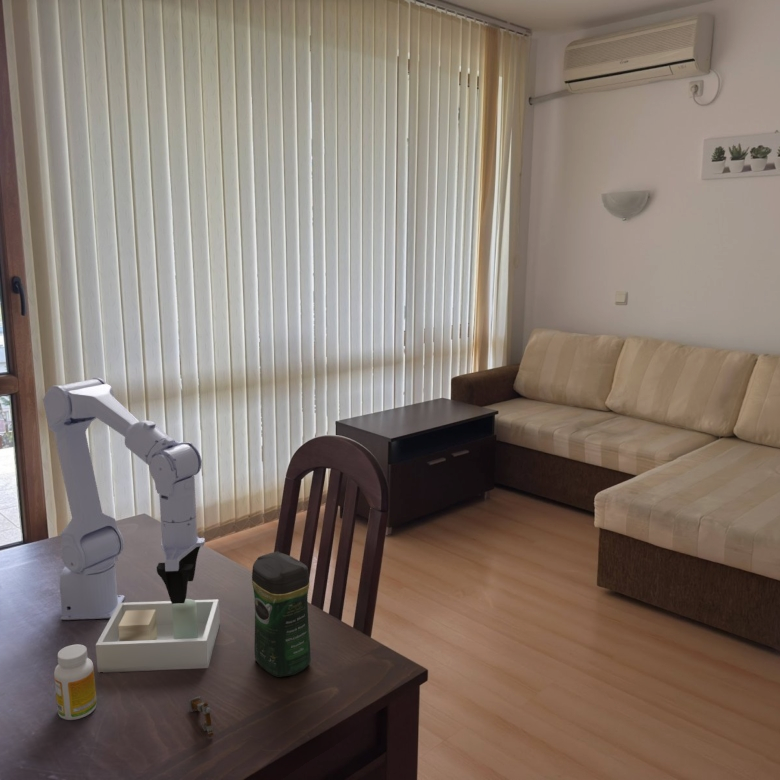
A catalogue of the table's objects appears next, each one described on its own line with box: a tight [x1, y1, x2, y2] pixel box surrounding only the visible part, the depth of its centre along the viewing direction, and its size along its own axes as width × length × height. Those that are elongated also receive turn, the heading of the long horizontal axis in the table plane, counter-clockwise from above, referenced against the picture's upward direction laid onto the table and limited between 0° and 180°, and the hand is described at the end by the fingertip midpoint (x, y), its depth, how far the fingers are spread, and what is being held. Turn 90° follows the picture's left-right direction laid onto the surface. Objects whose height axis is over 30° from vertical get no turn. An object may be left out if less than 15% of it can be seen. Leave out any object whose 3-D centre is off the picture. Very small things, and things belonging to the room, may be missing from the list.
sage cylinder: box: [172, 598, 198, 639], centre depth 124 cm, size 4×4×7 cm
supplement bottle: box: [53, 643, 98, 721], centre depth 107 cm, size 5×5×10 cm
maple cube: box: [118, 610, 157, 641], centre depth 123 cm, size 5×5×5 cm
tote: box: [95, 598, 221, 674], centre depth 124 cm, size 18×14×5 cm
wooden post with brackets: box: [188, 695, 214, 737], centre depth 105 cm, size 2×8×4 cm, turn 31°
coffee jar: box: [251, 550, 312, 678], centre depth 119 cm, size 10×8×19 cm
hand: (182, 591), depth 123 cm, fingers open, 7 cm apart
